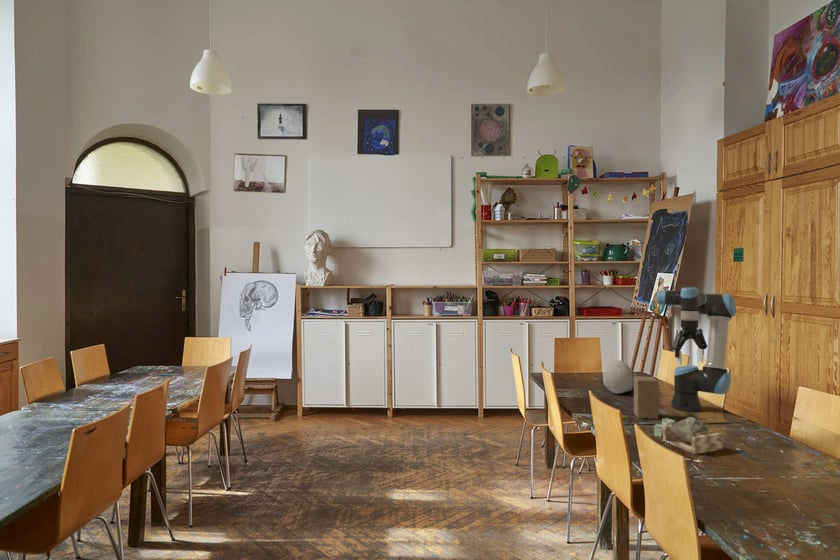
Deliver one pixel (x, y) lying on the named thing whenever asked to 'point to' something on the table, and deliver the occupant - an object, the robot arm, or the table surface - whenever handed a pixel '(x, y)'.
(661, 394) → the table surface
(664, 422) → the clip
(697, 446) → the cradle
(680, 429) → the lumpy boulder
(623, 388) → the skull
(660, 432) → the clip
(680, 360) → the robot arm
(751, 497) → the table surface
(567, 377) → the table surface
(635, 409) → the wooden block
